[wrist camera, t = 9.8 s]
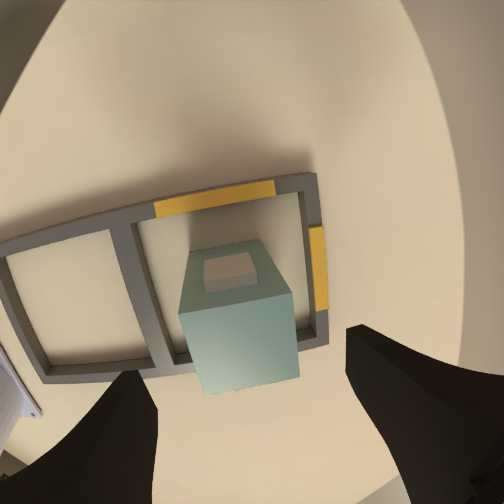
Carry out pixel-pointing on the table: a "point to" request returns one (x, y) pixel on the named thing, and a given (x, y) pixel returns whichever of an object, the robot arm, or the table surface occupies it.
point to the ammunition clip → (3, 477)
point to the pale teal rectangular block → (238, 318)
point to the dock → (141, 283)
